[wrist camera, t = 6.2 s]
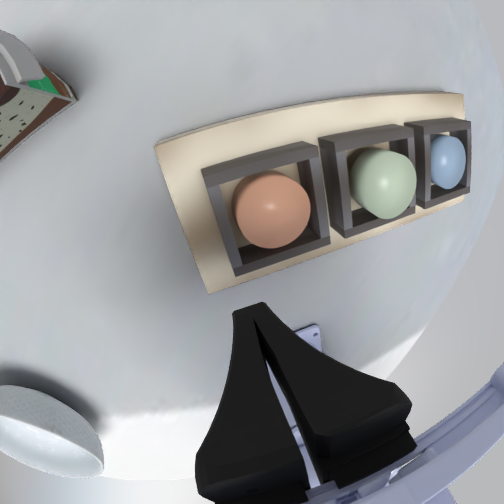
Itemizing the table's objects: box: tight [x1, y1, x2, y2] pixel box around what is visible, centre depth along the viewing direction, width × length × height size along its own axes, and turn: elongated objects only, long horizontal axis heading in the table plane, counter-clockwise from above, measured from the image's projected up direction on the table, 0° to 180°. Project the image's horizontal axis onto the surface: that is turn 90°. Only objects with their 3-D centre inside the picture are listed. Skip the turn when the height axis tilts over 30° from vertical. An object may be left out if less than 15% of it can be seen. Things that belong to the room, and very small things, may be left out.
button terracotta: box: [232, 170, 310, 248], centre depth 16 cm, size 4×4×2 cm
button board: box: [154, 91, 471, 294], centre depth 18 cm, size 10×24×4 cm, turn 103°
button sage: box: [349, 148, 416, 219], centre depth 16 cm, size 4×4×2 cm
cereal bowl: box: [0, 385, 104, 478], centre depth 21 cm, size 17×17×7 cm
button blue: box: [430, 133, 466, 189], centre depth 17 cm, size 4×4×2 cm
